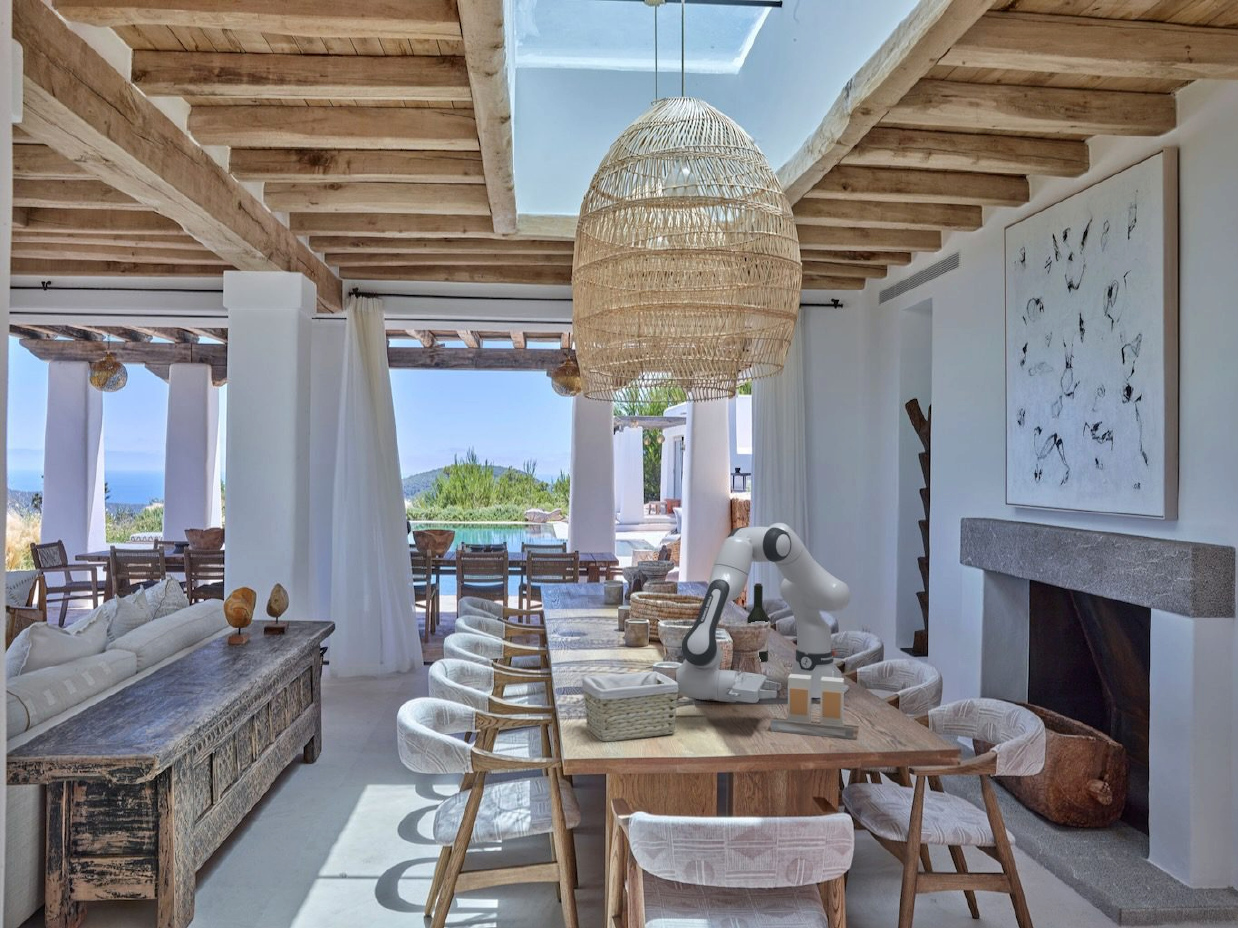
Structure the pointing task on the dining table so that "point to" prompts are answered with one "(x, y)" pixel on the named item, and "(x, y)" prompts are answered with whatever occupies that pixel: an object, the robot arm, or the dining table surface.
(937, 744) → the dining table surface
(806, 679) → the cream carton
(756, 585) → the wine bottle
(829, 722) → the carton
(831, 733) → the shelf board
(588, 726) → the storage basket
